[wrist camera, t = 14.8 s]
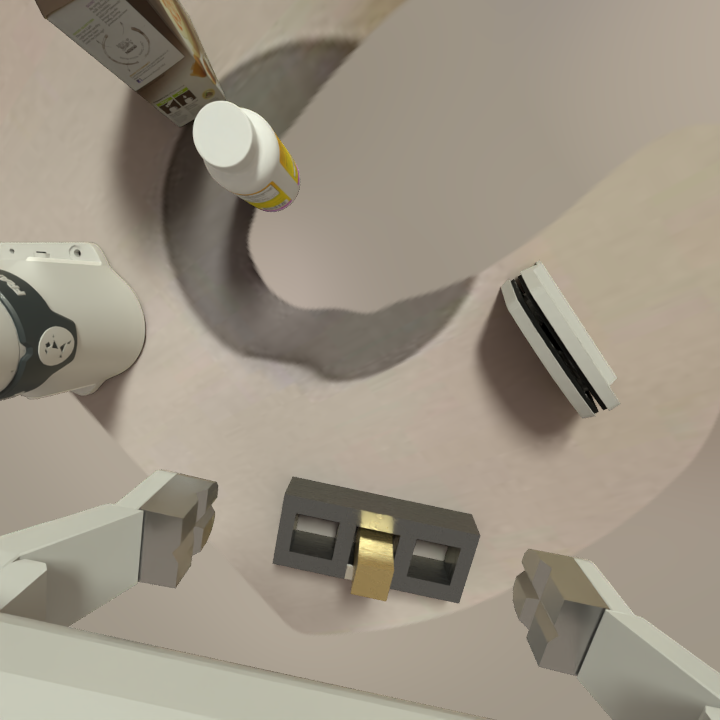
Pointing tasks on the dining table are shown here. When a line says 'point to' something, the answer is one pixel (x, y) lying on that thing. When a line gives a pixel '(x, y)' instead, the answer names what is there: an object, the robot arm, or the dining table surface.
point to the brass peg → (372, 564)
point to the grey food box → (143, 49)
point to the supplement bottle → (246, 156)
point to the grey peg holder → (382, 516)
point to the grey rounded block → (560, 340)
